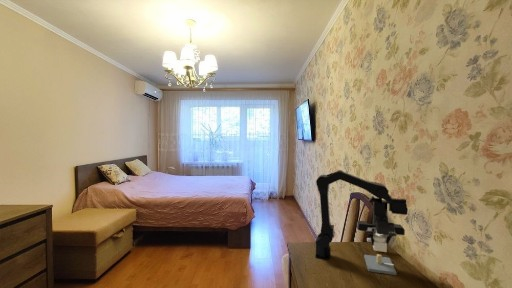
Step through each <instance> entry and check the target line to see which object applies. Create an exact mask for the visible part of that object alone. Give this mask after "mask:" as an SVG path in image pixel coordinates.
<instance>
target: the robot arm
mask: <svg viewBox="0 0 512 288" xmlns="http://www.w3.org/2000/svg"><path fill="white" fill-rule="evenodd" d="M340 180H341V181H343V182H345V183H348V184H351V185H353V186H354V187H355V186H356V187H358V188H360V189H363V190H365V191H366V192H368V193H370V194H371V197H370V198H368V202H369V203H373V204H372V224H371V223H367V221H364V220H358V221H357V222H356V227H357V230H358V231H361V232H362V231H363V232H365V233H366V234H368V235H369V238H370V239H371V242H370V243H371V245H373V246H374V240H373V236H374V232H373V230H375V233H376V232H377V233H378V234H383V235H385V236H386V243H387V246H389V243H390V241H391V240H392V238H393V237H396V236H397V235H400V236H405V233H406V232H405V228H404V227H403V226H402V225H401V224H397V223H394V222H389V221H388V211H389V212H391V214H393V215H403V216H408V205H407V204H408V203H407V199H406V198H397V197H396V198H392V196H391V195H390V194H389V190H388V188H387V186H386V185H385V184H383V183H380V182H376V181H369V180H366V179H363V178H361V177H359V176H357V175H356V176H355V175H353V174H350V173H348V172H345V171H343V170H341V169H340V170H339V169H338V170H336V171H334V172H331V173H328V174H320V175H319V176H318V178H317V179H316V182H315V184H316V187H317V191H318V193H319V200H320V215H321V217H320V218H321V225H320V226H321V227H320V233H318V235H317V236H316V239H315V254H314V255H315V256H314V257H315V258H317V259H324V260H330V257H331V246H330V243H332V241H333V240H334V238H335V234H336V232H335V224H332V223H331V218H330V216H331V215H330V206H329V205H330V202H329V192H330V191H329V189H330V185H331V184H333V183H335V182H337V181H340ZM373 246H372V247H373Z"/></svg>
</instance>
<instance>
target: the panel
mask: <svg viewBox="0 0 512 288" xmlns="http://www.w3.org/2000/svg"><path fill="white" fill-rule="evenodd" d="M363 257H364V258H363V259H364V261H365V262H364V263H365V264H366V269H367V271H368V272H371V273H378V274H385V275H386V274H387V275H392V276H397V273H398V272H397V270H396V268H395V264H393V261H392V260H391V258H390V257H385V256H382V254H378V253H376V255H370V254H364V256H363Z"/></svg>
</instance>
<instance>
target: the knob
mask: <svg viewBox="0 0 512 288" xmlns="http://www.w3.org/2000/svg"><path fill="white" fill-rule="evenodd" d="M373 236H374V237H373V240H374V246H373V245H372V244H371V245H372V248H373V251H375V252H376V251H377V252H382V253H383V252H384V253H387V250H388V245H387V243H386V235H385V234H376V233H373Z"/></svg>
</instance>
